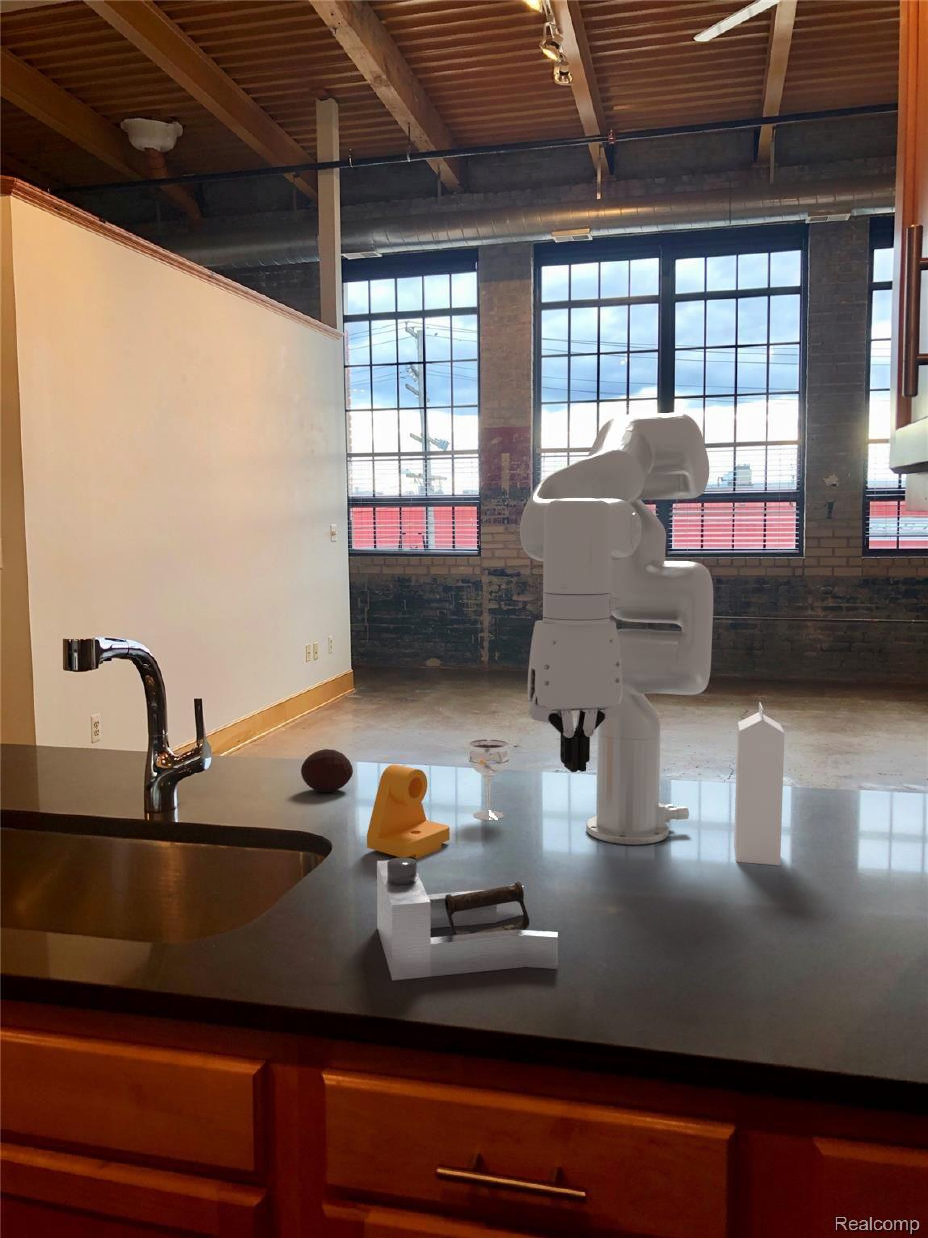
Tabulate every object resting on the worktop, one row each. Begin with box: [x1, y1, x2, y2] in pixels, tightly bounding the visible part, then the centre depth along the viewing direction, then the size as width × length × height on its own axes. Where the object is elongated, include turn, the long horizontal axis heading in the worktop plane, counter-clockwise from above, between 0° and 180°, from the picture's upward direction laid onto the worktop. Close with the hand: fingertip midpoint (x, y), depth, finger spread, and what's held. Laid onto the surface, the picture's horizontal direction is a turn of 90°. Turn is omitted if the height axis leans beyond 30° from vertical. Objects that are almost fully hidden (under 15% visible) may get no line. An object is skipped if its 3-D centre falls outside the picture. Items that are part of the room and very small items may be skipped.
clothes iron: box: [445, 881, 530, 935], centre depth 99 cm, size 7×11×10 cm, turn 108°
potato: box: [300, 748, 354, 793], centre depth 163 cm, size 8×9×8 cm
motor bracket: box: [376, 857, 559, 981], centre depth 101 cm, size 18×15×10 cm
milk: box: [733, 701, 785, 866], centre depth 129 cm, size 6×6×22 cm
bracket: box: [366, 764, 451, 860], centre depth 133 cm, size 11×7×12 cm, turn 142°
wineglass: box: [467, 738, 510, 821], centre depth 149 cm, size 7×7×12 cm
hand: (574, 768), depth 104 cm, fingers closed
